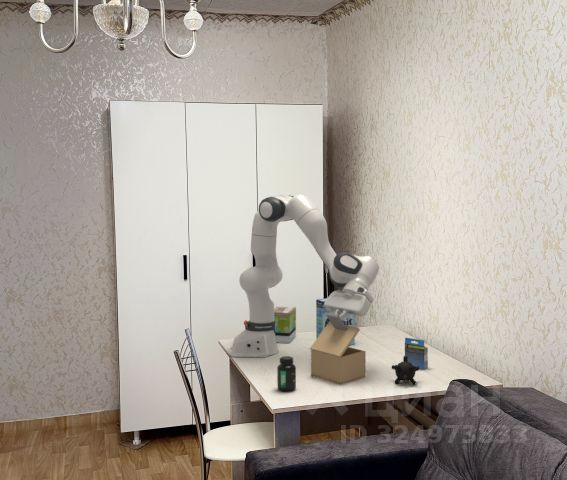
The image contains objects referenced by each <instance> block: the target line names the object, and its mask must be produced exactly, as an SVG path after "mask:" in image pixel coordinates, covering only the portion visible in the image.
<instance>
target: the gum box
mask: <svg viewBox="0 0 567 480" xmlns="http://www.w3.org/2000/svg"><path fill="white" fill-rule="evenodd" d="M327 298H328V297H325V298H319V299H316V300H315V303H316V305H315V307H316V310H315V311H316V313H315V314H316V315H315V316H316V319H315V321H316V322H315V323H316V325H315V329H316V332H315V333H316V334H315V335H316V337H315V340H316V339H317V338H318V336H319V335H320V334H321V332H322V331H323V330H324V328H325V327H326V326H327V324H328V323H329V322H330V320H329V319H328V317H327V316H326V314H327V313H330V314H335V313H336V311H332V310H328V309H327V308H326V307H325V306H324V302H325V301H326V299H327ZM341 314H342V313H341ZM341 314H340V315H341ZM340 315H339V316H340ZM355 316H356V315H352V314H348V316H347V317H345V318H344V319H343V320H342V321H343V323H344V324H345V325H347V326H351V327H356V326H355V325H356V324H355V320H356V319H355ZM355 339H356V337H355V338H354V339H353V341H352V342H351V344H350V345H349V346H352V345H355V344H356V341H355Z"/></svg>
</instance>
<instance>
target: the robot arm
mask: <svg viewBox="0 0 567 480" xmlns="http://www.w3.org/2000/svg"><path fill="white" fill-rule="evenodd" d="M288 221H294V222H295V224H296V225H297V226H298V229H300V230H301V232H302V233H303V235H305V237H306V238H307V240H308V241H309V242H310V244H311V245H312V247H313V249H314V250H315V252H316V253H317V255H318V257H320V259H321V261H322V263H323V264H324V265H325V267H326V270H327V271H328V274H329V279H330V281H331V283H332V284H333V285H334V286H336V287H339V288H343V289H342V290H341V289H337V290H334V291H332V292H331V293H330V294H329V296H328V297H326V298H327V299H326V301H325V302H324V306H325V307H326V308H327V309H328V310H332V311H336V313H335V315H340V314H341V313H342V314H341V315H340V316H339V317H340V318H341V320H343V319H344V318H345V317H347V316H348V314H352V315H355V316H358V317H364V316H367V313H368V312H369V310H370V308H371V306H372V304H373V302H374V300H375V299H374V297H373V296H372V294H371V293H370V292H369V288H370V287H371V286H372V285H373V283H374V281H375V280H376V278H377V276H378V274H379V270H380V265H379V263H378V262H377V260H375V258H374V257H372V256H369V255H363V256H362V255H355V254H352V253H350V252H347V251H346V252H345V251H343V252H339V253H338V254H337V253H336V252H335V250H334V249H333V248H332V246H331V243H330V241H329V236H328V234H329V233H328V223H327V221H326V218H325V217H324V215H323V213H322V212H321V210H320V209H319V208H318V206H317V205H316V204H315V203H314V202H313V201H312V200H311V199H310V198H309V197H307V196H306V195H305V194H300V193H299V194H295V195H281V194H280V195H276V196H268V197H265V198H264V199H262V200H261V201H260V203H259V204H258V210H257V211H256V212H255V214H254V216H253V220H252V227H251V236H250V237H251V239H250V240H251V241H250V252H251V254H252V255H253V257H254V260H255V266H252V267H249V268H247V269H246V270H244V271H242V273H241V274H240V276H239V285H240V287H241V289H242V290H244V292H245V294H246V297H247V300H248V308H249V310H248V311H249V312H248V313H249V320H244V321H243V326H244V330H242V331H241V332H240V333H239V334H238V335H236V336H235V337H234V339H233V342H232V347H229V348H228V349H227V354H228V356H229V357H232V358H239V357H240V358H268V357H269V356H273V355H276V354H278V353H279V348H278V345H277V344H278V343H276V338H275V332H276V323H275V320H274V309H275V303H274V301H273V300H272V299H271V297H270V293H269V289H271V288H275V287H276V286H277V285H278V284H279V283H281V281H282V280H283V270H282V268H281V267H280V265H279V263H278V257H277V237H278V236H277V234H278V226H279V224H280V223H281V222H288Z"/></svg>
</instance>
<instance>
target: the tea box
mask: <svg viewBox="0 0 567 480" xmlns="http://www.w3.org/2000/svg"><path fill="white" fill-rule="evenodd" d="M274 320H275V323H276V332H275V338H276V342H279V343H278V344H290V343H291V342H292V341H293V339H295V338H296V336H297V307H296V306H276V307H274Z"/></svg>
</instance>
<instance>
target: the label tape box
mask: <svg viewBox="0 0 567 480" xmlns="http://www.w3.org/2000/svg"><path fill="white" fill-rule="evenodd" d="M414 342H415V343H414ZM428 351H429V349H428V346H425V340H424V339H418V338H413V337H412V338H411V337H404V356H408V362H410V363H411V364H413V366H416V367H417V366H418V367H419V368H420V369H421V370H426V369H428V368H429V359H428V358H429V356H428V354H429V352H428ZM420 369H419V370H420Z"/></svg>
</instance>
